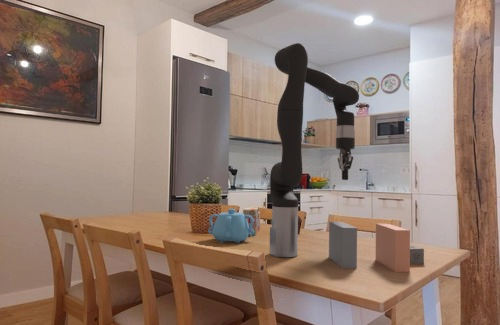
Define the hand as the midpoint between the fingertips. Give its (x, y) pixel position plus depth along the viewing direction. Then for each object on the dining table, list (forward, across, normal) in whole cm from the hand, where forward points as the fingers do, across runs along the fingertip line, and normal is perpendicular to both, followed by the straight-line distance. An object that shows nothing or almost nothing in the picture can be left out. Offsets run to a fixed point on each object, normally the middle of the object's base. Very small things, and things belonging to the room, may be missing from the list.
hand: (344, 179), depth 149 cm
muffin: (+27, +31, +16) cm, 44 cm away
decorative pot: (+27, +12, +46) cm, 54 cm away
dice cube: (+27, -26, -15) cm, 40 cm away
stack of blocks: (+27, +36, +35) cm, 57 cm away
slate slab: (+27, -26, +10) cm, 39 cm away
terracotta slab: (+27, -30, -6) cm, 41 cm away
